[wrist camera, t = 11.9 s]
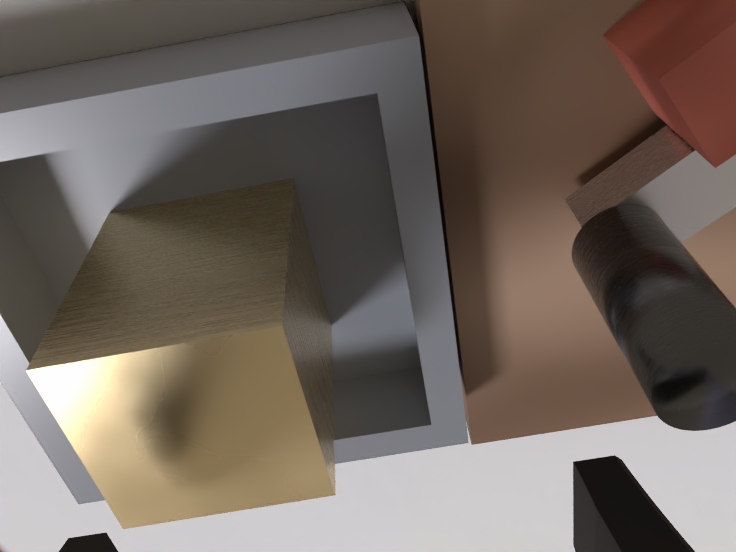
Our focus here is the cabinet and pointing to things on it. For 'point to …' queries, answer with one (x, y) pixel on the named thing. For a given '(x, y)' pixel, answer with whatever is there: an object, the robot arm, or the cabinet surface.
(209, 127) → the tray
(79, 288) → the stop block
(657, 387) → the crank
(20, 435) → the cabinet surface
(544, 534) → the cabinet surface
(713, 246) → the crank base
